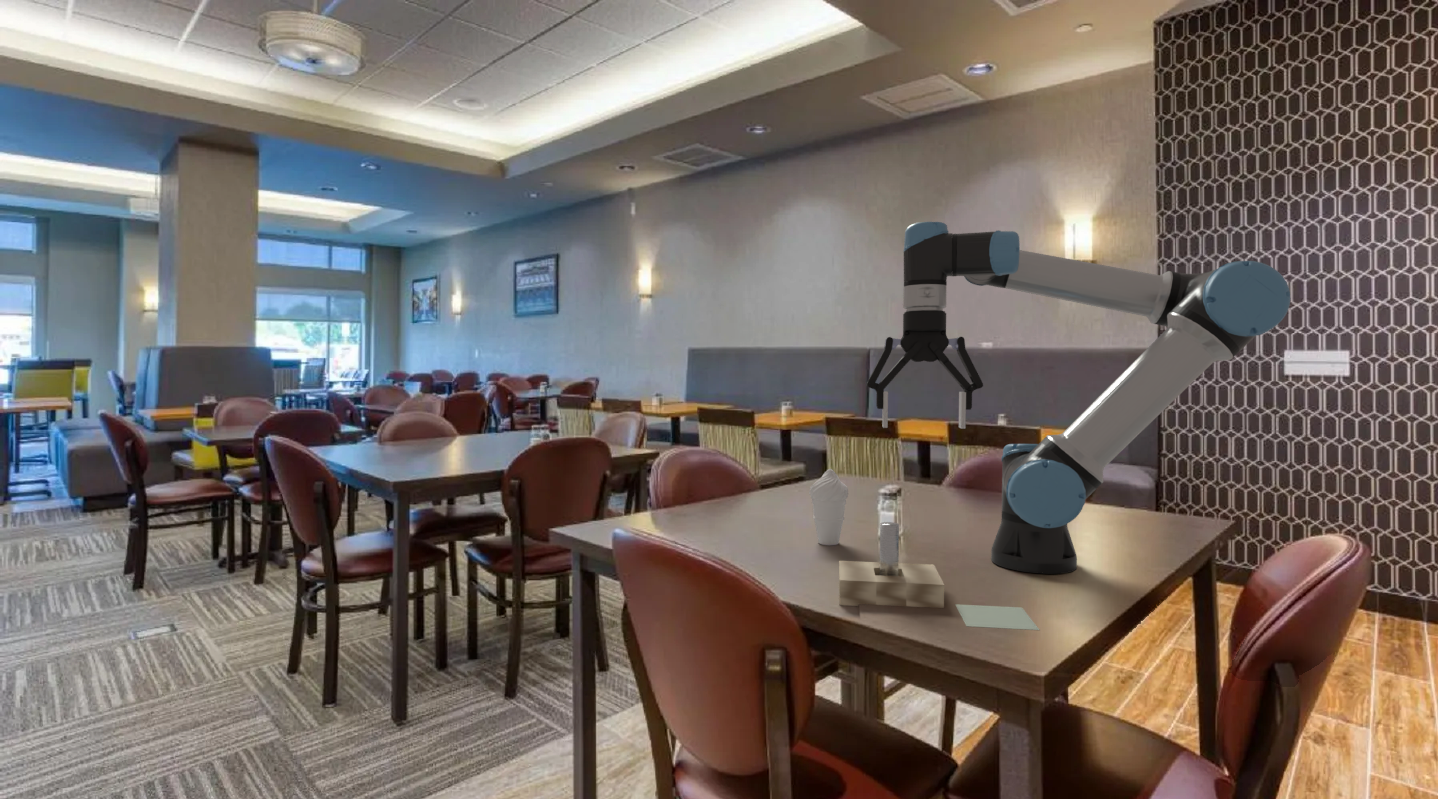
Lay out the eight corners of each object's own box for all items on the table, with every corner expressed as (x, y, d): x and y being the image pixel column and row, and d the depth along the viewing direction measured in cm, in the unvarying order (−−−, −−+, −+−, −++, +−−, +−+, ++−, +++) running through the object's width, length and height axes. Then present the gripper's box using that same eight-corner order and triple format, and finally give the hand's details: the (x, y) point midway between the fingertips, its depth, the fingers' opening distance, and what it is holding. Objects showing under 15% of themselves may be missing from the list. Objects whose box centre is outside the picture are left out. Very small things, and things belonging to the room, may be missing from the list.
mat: (1021, 610, 115) (1021, 607, 115) (1039, 632, 105) (1039, 629, 105) (955, 606, 116) (955, 604, 116) (966, 628, 107) (966, 626, 107)
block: (933, 587, 127) (933, 564, 126) (943, 610, 115) (944, 584, 115) (838, 583, 129) (839, 560, 129) (839, 605, 117) (839, 580, 117)
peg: (897, 593, 123) (898, 522, 123) (898, 599, 120) (899, 526, 120) (878, 593, 124) (879, 521, 123) (880, 598, 121) (880, 525, 120)
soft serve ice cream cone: (838, 549, 153) (838, 472, 153) (802, 544, 158) (802, 469, 157) (854, 541, 160) (854, 468, 160) (819, 536, 165) (819, 465, 164)
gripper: (855, 309, 132) (854, 428, 133) (1001, 307, 128) (999, 430, 129) (853, 312, 139) (852, 425, 140) (992, 311, 136) (990, 426, 136)
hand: (923, 427), depth 135 cm, fingers open, 13 cm apart
